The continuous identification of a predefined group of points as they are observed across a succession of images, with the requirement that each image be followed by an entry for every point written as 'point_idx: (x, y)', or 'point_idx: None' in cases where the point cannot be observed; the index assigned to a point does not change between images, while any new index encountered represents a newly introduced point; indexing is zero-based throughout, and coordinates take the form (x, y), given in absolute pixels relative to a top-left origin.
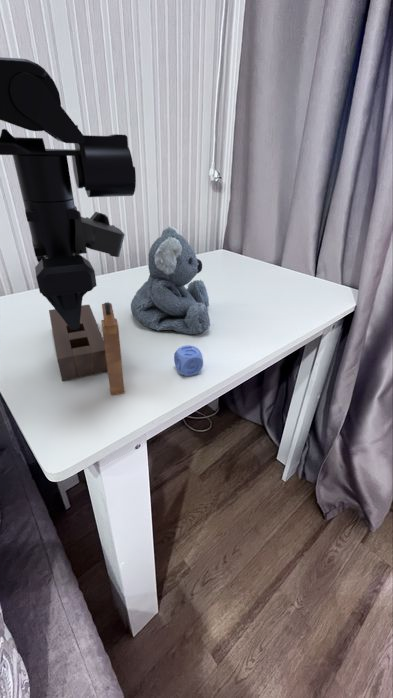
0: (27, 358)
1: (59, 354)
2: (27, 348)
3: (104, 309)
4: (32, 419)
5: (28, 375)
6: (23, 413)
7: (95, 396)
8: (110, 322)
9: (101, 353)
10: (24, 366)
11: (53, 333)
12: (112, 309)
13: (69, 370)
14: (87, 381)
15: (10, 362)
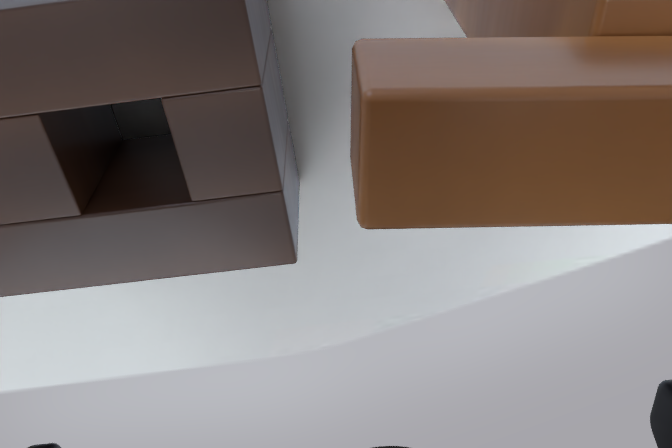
0: (91, 317)
1: (248, 255)
2: (3, 326)
3: (580, 206)
4: (511, 263)
5: (225, 301)
6: (465, 290)
7: (465, 35)
8: None
9: (251, 19)
10: (155, 320)
11: (2, 294)
12: (640, 93)
13: (292, 174)
14: (326, 71)
15: (120, 363)
